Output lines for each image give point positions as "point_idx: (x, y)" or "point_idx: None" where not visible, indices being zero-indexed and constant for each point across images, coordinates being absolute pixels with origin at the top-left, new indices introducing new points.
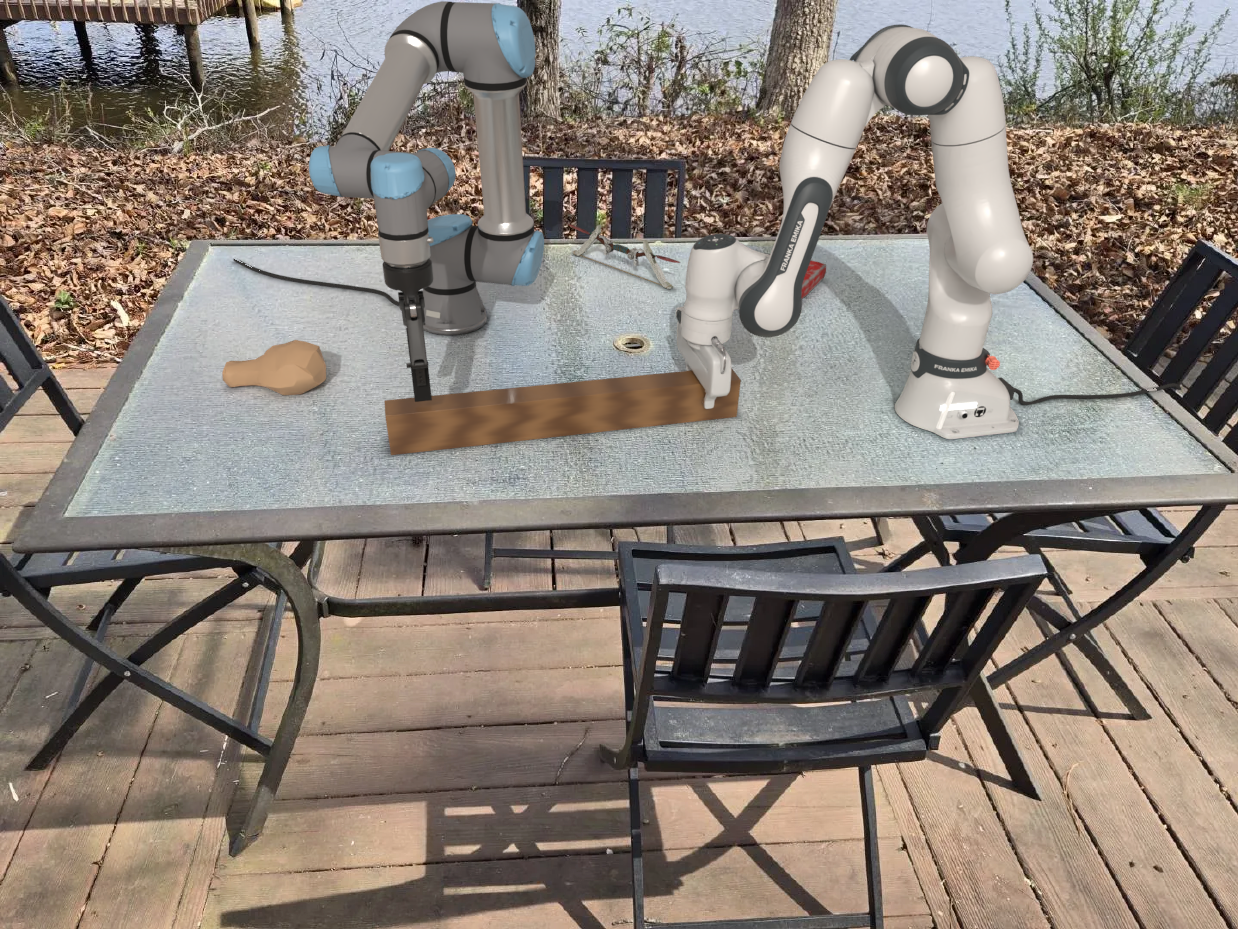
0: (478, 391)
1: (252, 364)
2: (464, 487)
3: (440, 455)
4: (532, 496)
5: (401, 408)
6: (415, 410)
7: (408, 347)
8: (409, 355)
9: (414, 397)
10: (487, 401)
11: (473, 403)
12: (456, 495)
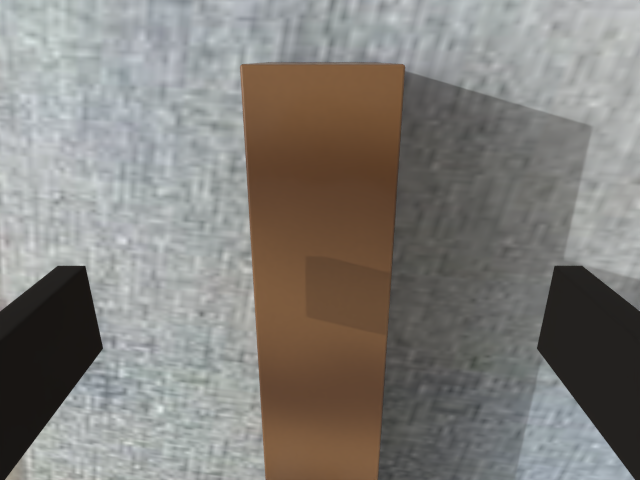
0: (377, 440)
1: None
2: None
3: (242, 221)
4: None
5: (299, 148)
6: (270, 210)
7: (627, 331)
8: (588, 295)
9: (41, 279)
10: (293, 459)
11: (289, 417)
12: (26, 247)
